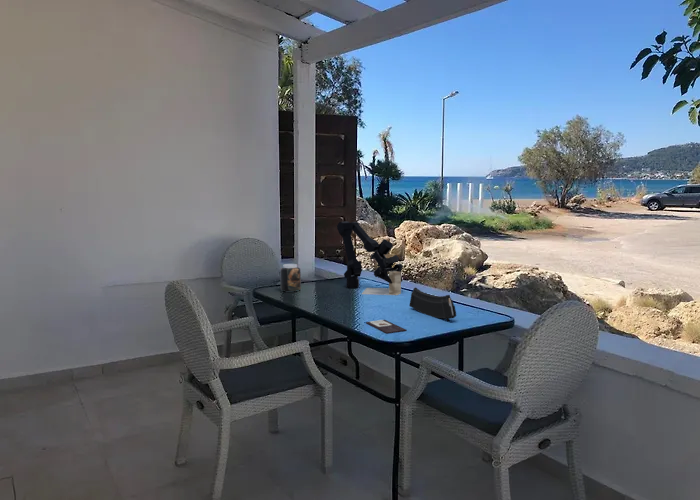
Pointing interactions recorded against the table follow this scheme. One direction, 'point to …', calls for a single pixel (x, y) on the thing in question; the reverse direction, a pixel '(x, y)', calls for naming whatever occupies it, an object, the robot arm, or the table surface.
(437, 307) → the magazine
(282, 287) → the jar
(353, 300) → the table surface
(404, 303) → the table surface
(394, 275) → the birch block
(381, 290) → the rubber mat
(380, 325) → the chocolate bar
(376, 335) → the table surface
